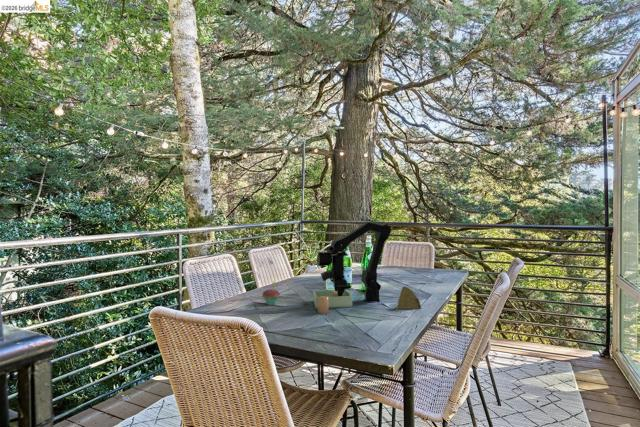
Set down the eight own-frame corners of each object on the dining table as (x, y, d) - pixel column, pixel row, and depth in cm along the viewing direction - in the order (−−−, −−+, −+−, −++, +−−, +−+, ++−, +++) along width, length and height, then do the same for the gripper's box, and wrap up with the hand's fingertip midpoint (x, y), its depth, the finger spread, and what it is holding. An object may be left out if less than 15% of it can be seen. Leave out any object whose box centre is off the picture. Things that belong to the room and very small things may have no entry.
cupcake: (283, 302, 203) (282, 278, 203) (274, 306, 196) (273, 282, 195) (268, 300, 207) (268, 277, 206) (259, 304, 199) (258, 280, 199)
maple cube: (332, 301, 203) (332, 291, 203) (342, 300, 204) (342, 291, 203) (333, 303, 198) (333, 293, 198) (344, 303, 199) (343, 293, 198)
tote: (347, 299, 208) (347, 289, 208) (352, 306, 195) (352, 296, 194) (313, 300, 206) (313, 290, 206) (315, 308, 193) (315, 297, 193)
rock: (425, 301, 194) (405, 296, 199) (423, 290, 189) (403, 284, 194) (416, 319, 187) (396, 313, 193) (414, 308, 182) (393, 301, 188)
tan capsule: (328, 310, 189) (327, 295, 188) (329, 313, 184) (329, 298, 183) (317, 310, 188) (317, 295, 188) (318, 313, 183) (318, 298, 183)
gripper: (319, 262, 208) (320, 292, 209) (323, 268, 190) (324, 301, 191) (341, 261, 210) (341, 291, 210) (347, 268, 191) (347, 301, 192)
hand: (338, 296), depth 201 cm, fingers open, 9 cm apart
